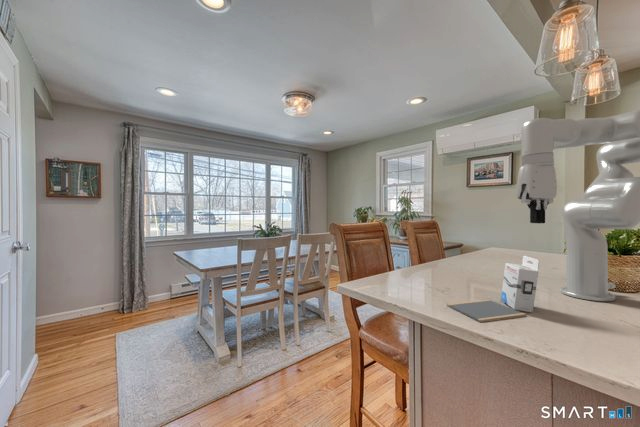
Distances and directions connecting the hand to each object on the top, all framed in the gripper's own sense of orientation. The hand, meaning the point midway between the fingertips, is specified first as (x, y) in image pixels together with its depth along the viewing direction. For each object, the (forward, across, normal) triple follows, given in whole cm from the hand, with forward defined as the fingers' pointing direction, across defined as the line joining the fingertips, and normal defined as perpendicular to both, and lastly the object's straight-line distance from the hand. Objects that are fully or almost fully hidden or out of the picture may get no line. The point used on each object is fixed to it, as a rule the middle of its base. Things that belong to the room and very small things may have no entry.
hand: (537, 223), depth 80 cm
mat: (+25, +19, 0) cm, 31 cm away
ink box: (+24, +8, 0) cm, 26 cm away
